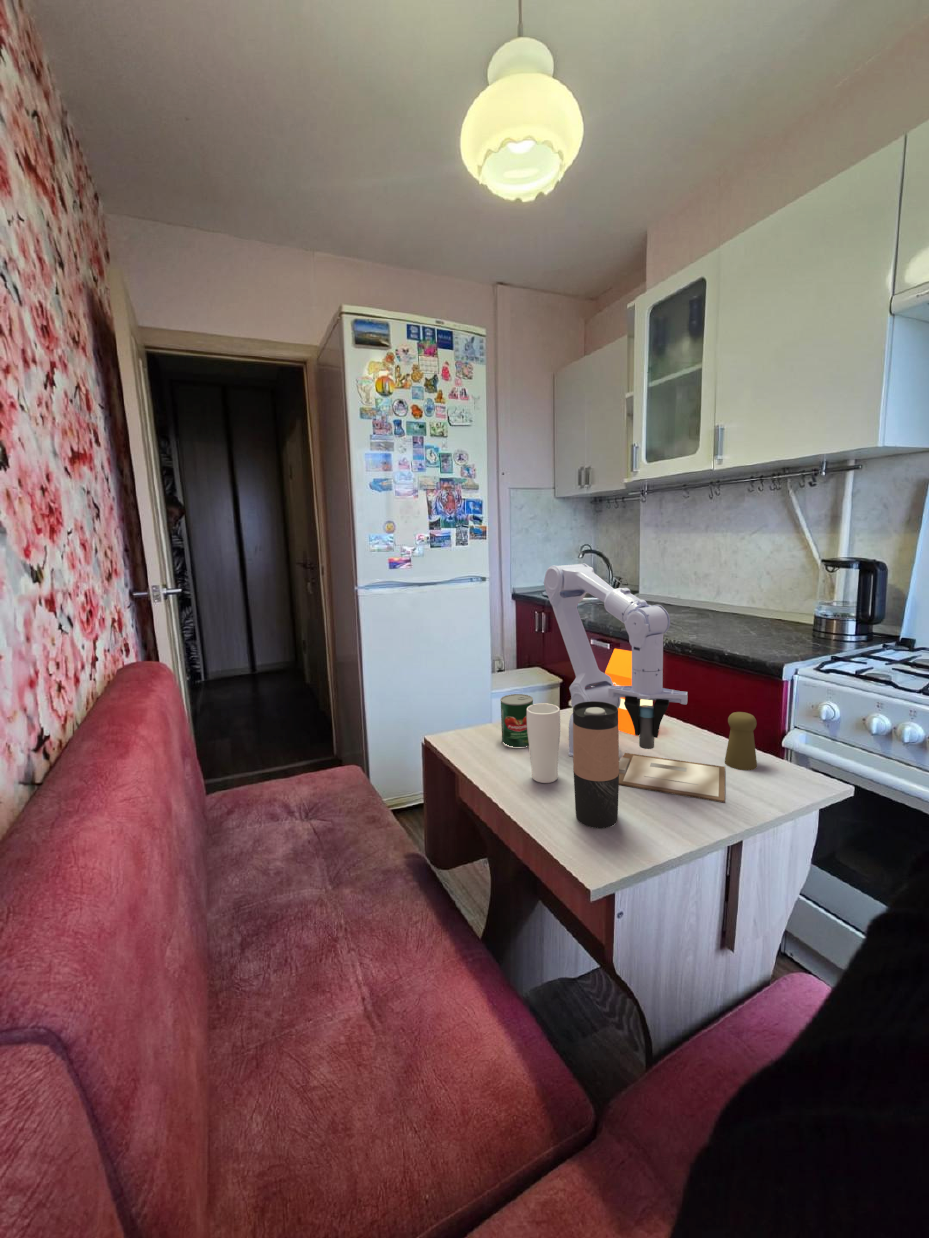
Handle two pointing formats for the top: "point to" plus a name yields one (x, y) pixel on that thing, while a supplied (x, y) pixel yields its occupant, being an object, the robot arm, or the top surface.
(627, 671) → the orange juice
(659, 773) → the clipboard
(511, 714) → the canned tomato
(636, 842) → the top surface
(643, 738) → the marker
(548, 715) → the drinking glass
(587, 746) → the travel mug
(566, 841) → the top surface
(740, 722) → the cork
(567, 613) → the robot arm
